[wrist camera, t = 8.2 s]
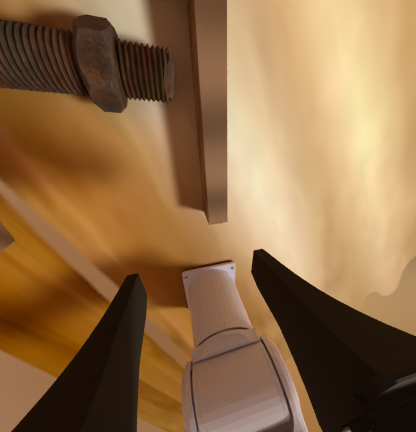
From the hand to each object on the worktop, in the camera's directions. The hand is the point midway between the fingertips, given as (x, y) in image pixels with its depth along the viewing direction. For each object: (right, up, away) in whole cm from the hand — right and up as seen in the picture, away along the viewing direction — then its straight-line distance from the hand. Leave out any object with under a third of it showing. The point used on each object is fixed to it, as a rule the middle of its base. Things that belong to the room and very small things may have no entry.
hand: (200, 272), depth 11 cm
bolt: (-10, +14, +2) cm, 18 cm away
